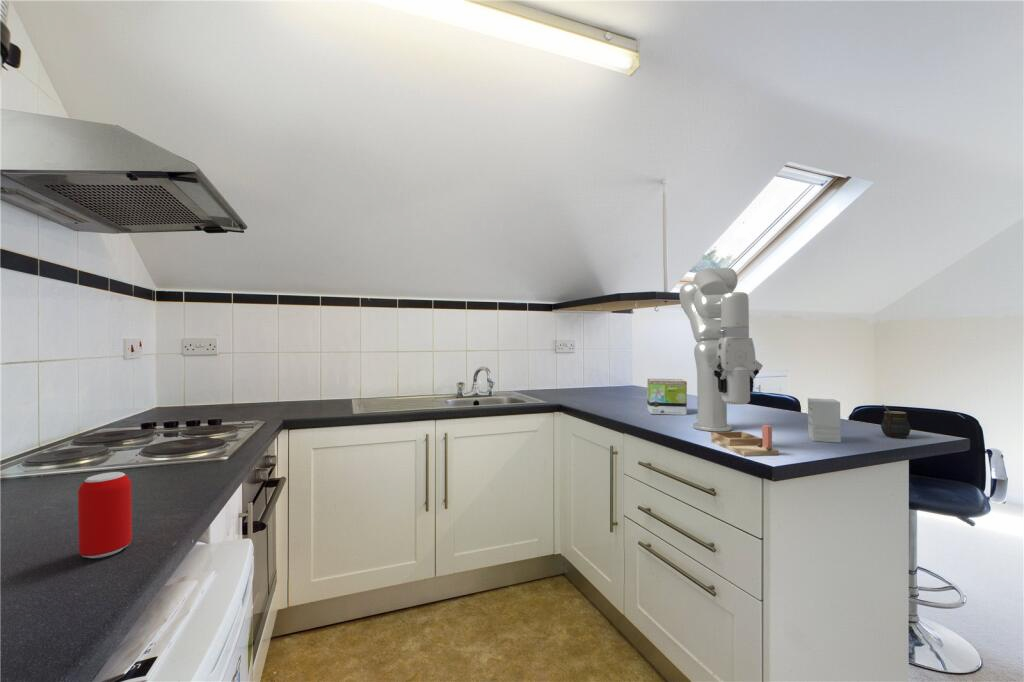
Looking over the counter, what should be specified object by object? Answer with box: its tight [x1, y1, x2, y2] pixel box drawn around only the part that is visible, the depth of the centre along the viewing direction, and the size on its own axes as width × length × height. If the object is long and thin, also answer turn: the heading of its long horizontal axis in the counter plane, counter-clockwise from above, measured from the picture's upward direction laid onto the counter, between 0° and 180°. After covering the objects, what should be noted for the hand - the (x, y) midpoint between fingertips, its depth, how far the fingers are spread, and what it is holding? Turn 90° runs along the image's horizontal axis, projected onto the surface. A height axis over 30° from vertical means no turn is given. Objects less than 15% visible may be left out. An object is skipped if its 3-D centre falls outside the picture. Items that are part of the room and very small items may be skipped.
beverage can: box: [77, 471, 133, 559], centre depth 69 cm, size 6×6×12 cm
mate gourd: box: [880, 404, 912, 439], centre depth 141 cm, size 7×8×10 cm
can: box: [722, 364, 751, 405], centre depth 132 cm, size 8×8×12 cm
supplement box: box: [807, 397, 842, 444], centre depth 138 cm, size 7×7×13 cm
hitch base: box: [710, 430, 780, 457], centre depth 129 cm, size 17×10×3 cm, turn 4°
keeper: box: [761, 424, 773, 448], centre depth 123 cm, size 2×6×1 cm
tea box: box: [646, 378, 688, 416], centre depth 191 cm, size 15×10×15 cm, turn 81°
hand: (735, 391), depth 132 cm, fingers closed on can, 7 cm apart
